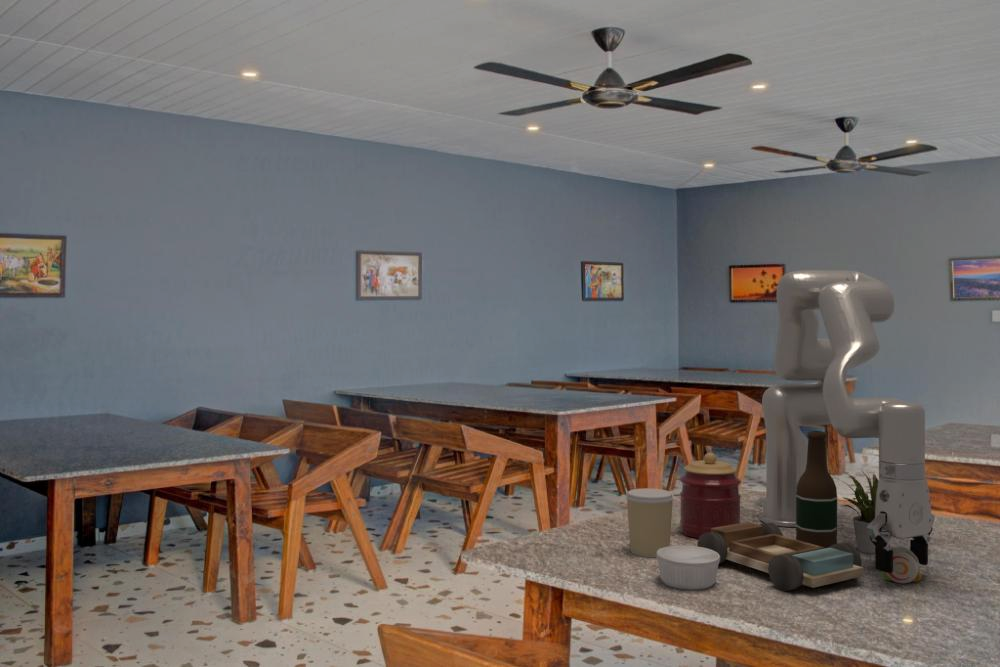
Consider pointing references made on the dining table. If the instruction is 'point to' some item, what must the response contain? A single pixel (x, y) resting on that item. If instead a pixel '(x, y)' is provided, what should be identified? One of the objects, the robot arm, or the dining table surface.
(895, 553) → the roller toy
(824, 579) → the chassis
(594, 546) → the dining table surface
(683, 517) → the canister
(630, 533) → the coffee cup
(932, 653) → the dining table surface
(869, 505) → the house plant
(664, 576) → the ramekin
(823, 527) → the beer bottle
